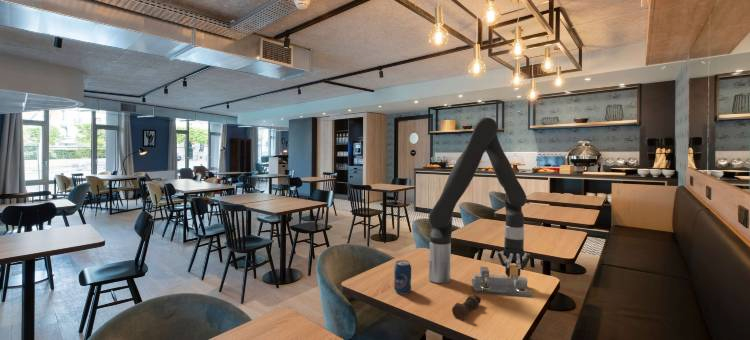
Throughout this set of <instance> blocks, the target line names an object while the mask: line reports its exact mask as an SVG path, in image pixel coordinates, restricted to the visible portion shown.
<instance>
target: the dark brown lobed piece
mask: <svg viewBox="0 0 750 340" xmlns="http://www.w3.org/2000/svg"><path fill="white" fill-rule="evenodd" d="M481 301H482V299H481V297H479V296H478V295H476V294H475V295H469V296H467V298H466V300H465V301H464V302H462V303H459V302H456V303H455V304H454V305H453V306H452V308H451V311H452V314H453V317H454V318H456V319H458V320H460V321H464V320H465V319H466V318H467V316H468V315H469V312H470V311H472V310H473V311H474V310H476V309H478V307H479V305H480V303H482V302H481Z"/></svg>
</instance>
